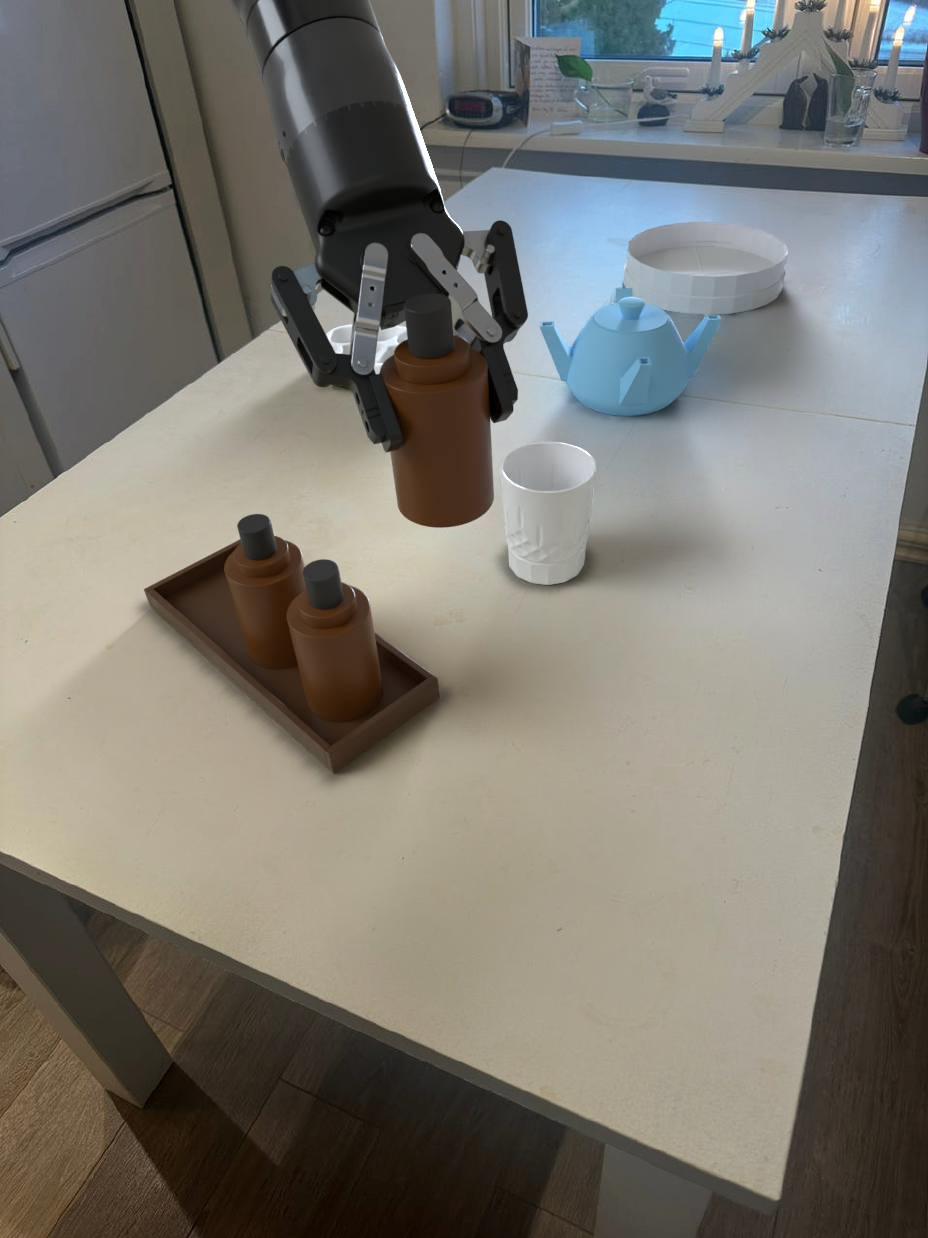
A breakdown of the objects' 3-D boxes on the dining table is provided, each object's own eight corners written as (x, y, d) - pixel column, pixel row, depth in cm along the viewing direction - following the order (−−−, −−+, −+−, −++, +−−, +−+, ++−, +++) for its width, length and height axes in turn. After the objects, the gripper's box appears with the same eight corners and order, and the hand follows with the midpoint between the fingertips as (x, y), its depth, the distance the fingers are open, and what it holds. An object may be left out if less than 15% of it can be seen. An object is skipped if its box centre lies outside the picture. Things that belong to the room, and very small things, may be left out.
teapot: (720, 389, 101) (735, 297, 94) (639, 439, 93) (649, 342, 86) (615, 352, 109) (622, 264, 102) (534, 394, 102) (534, 303, 95)
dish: (768, 254, 132) (775, 219, 128) (796, 314, 115) (804, 275, 112) (619, 256, 134) (622, 222, 131) (626, 315, 118) (629, 277, 114)
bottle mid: (257, 678, 68) (222, 556, 60) (240, 633, 72) (205, 513, 64) (328, 655, 70) (303, 532, 62) (308, 612, 74) (282, 492, 66)
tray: (150, 607, 76) (143, 589, 75) (248, 555, 81) (244, 536, 80) (333, 774, 61) (329, 755, 60) (440, 697, 66) (438, 678, 65)
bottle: (429, 540, 49) (407, 337, 41) (380, 495, 53) (350, 300, 45) (513, 503, 51) (507, 303, 43) (459, 462, 55) (444, 271, 47)
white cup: (484, 567, 78) (480, 471, 71) (536, 526, 82) (537, 432, 76) (556, 602, 74) (560, 503, 67) (607, 556, 78) (615, 459, 72)
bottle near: (319, 732, 63) (290, 608, 55) (297, 681, 67) (267, 558, 60) (394, 706, 65) (376, 581, 57) (368, 658, 69) (348, 535, 61)
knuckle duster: (298, 388, 106) (350, 338, 116) (436, 406, 101) (477, 352, 111) (293, 362, 104) (346, 313, 114) (434, 379, 99) (477, 327, 109)
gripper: (218, 119, 42) (330, 446, 42) (488, 75, 46) (592, 375, 46) (223, 206, 50) (318, 485, 49) (456, 161, 53) (546, 421, 53)
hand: (450, 430), depth 47 cm, fingers closed on bottle, 6 cm apart
